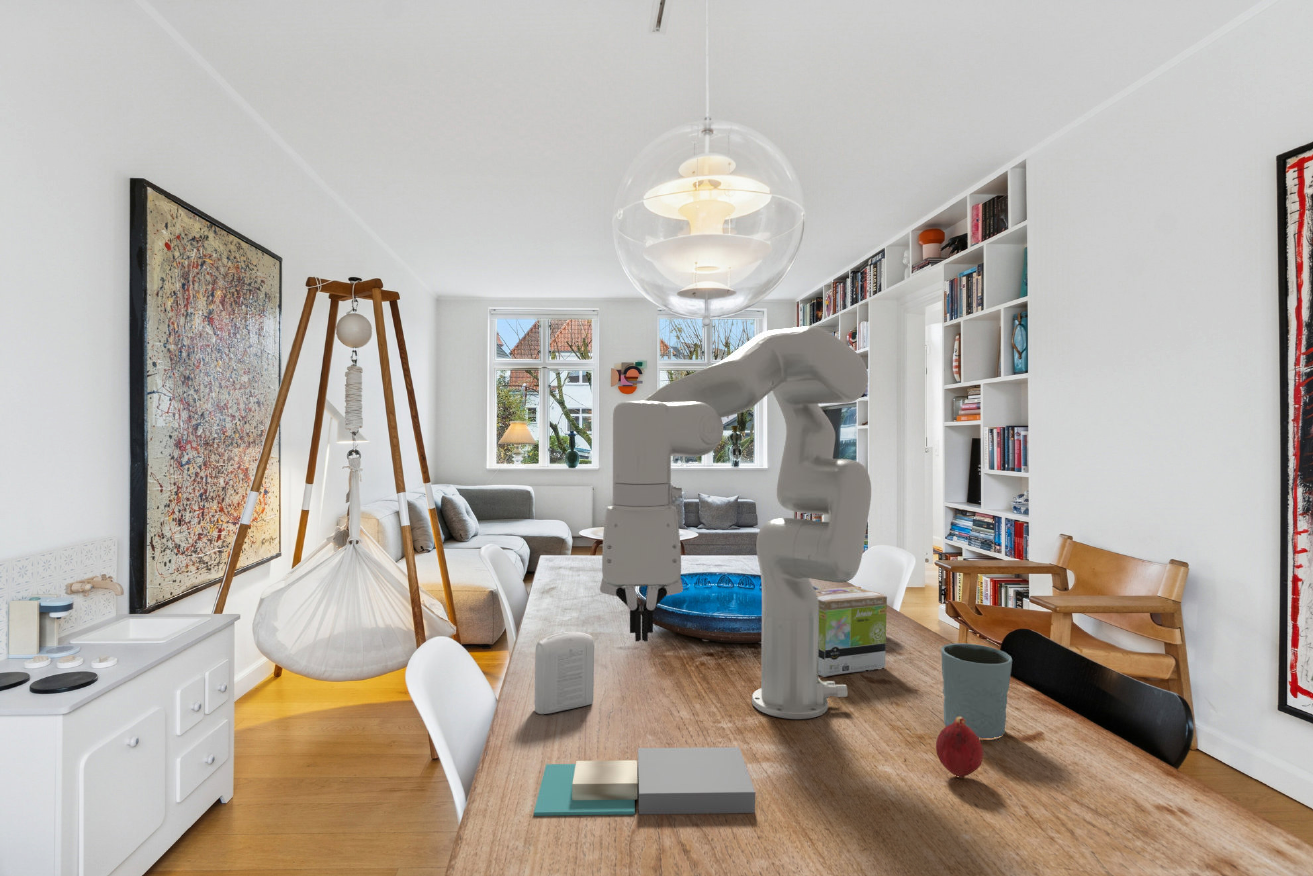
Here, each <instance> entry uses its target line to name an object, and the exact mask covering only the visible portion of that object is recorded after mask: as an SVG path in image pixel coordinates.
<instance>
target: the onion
mask: <svg viewBox="0 0 1313 876" xmlns="http://www.w3.org/2000/svg"><path fill="white" fill-rule="evenodd" d="M935 742H936V743H935V750H936V752H935V753H936V755H937V757H938V760H939V762H940V764H941V765H942V766H943V767H944V768H945V769H946V770H947V771H948V772H949V773H951V774H952V775H953V776H955V775H956V776H959V777H963V778H964V777H966V776H968V775H971V774H973V773H974V772H975V771H977V770H978V769H979V768H980V767H981V765H982V762H983V759H984V747H983V745H982V742H981V740H979V738H978V737H977V735H976V734H975V733H974V731H973V730H972V729H970V728H969V727H968V726H966V725H965V719H963V718H962V717H961V716H960V717H956V720H955V721H954V723H953V724H951V725H948V726H945V727H943V729H942V730H941V731H940V733H939V734H938V736H937V738H936V741H935ZM956 776H955V777H956Z"/></svg>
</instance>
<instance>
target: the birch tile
mask: <svg viewBox="0 0 1313 876" xmlns="http://www.w3.org/2000/svg"><path fill="white" fill-rule="evenodd" d="M575 764H576V766H575V772H574V778H573V784H572V800H633V799H635V800H638V759H637V760H624V759H623V760H576V761H575Z"/></svg>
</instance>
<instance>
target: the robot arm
mask: <svg viewBox="0 0 1313 876" xmlns="http://www.w3.org/2000/svg"><path fill="white" fill-rule="evenodd" d="M868 373H869V372H868V369H867V366H866V364H865V362H864V359H863V358H862V357H861V355H860V354H858V352H857V351H855V350H854V349H853V348H851V347H850V346H849V345H848V344H847V343H845V342H844V341H843V340H841V339H839V338H838V337H837V336H836V335H835V334H832V333H831V332H830V331H827V330H825V329H823V328H821V327H817V326H814V325H806V326H798V327H791V328H790V327H789V328H782V329H781V328H780V329H772V330H767V331H763V332H761V333H758V334H757V335H755V336H754V337H752V338H751V339H750V340H748V341H747V342H745V343H744V344H743V345H742V346H740V347H739V348H738V349H736V350H735V351H733V352H732V353H731V354H729V355H727V356H726V357H725V358H723V359H722V360H720V361H719V362H718V363H715V364H712V365H710V366H706V367H705V368H702V369H699V370H698V371H695V372H693V373H691V374H688V375H686V376H684V377H683V376H682V377H681V378H679V379H675V380H673V381H671V382H669V383H667V384H665V385H664V386H663V385H662V386H661V387H659V388H657V390H655V391H654V392H652V393H651V394H649V395H648V396H646V397H645V398H643V399H642V400H627V401H622V402H619V403H617V404H616V406H615V407H614V409H613V411H612V505H609V506H607V508H606V512H605V516H604V517H605V519H604V523H603V524H604V525H603V537H602V554H601V555H602V557H601V561H602V562H601V571H602V579H601V583H600V587H599V591H600V593H602V594H605V595H609V596H615V597H617V598H618V599H620V601H621V602H622V603H623V604H625V606H627V608H628V610H629V633H630V634H634V635H635V637H634V638H635V639H634V640H635V641H634V642H640V641H643V642H648V641H649V634H654V610H655V608H656V607H657V605H659V603H661V602H662V600H663V599H664V598H665V597H666V596H672V595H675V594H680V593H682V592H683V590H684V587H683V581H682V578H681V577H682V576H681V575H682V554H681V534H680V528H679V517H678V512H677V507H676V506H674V505H671V504H672V501H674V500H676V499H682V497H683V489H682V487H676V486H674V485H672V482H671V481H672V470H671V469H672V457H678V458H679V457H682V458H684V457H686V458H697V457H703V456H707V455H709V454H710V453H712V452H713V451H714V450H715V449H716V448H717V447H718V446H719V444H720V443H721V441H722V440H723V436H724V424H723V419H722V418H726V417H730V416H731V417H732V416H733V415H737V414H741V413H743V412H746V411H749V410H750V409H752V408H754V407H755V406H756V405H757V404H759V402H760V401H762V400H763V399H764V398H765V397H766V396H768V394H769V395H770V393H771V392H772V393H773V396H774V397H775V400H776V402H777V404H778V407H779V408H780V411H781V413H782V416H783V418H784V422H785V427H786V429H785V430H786V433H785V434H786V435H785V441H784V446H783V447H784V448H783V452H782V458H781V463H780V467H779V474H778V478H777V484H776V486H777V487H776V498H777V501H778V503H779V505H780V506H782V508H784V509H786V510H788V511H792V512H796V513H804V514H813V515H823V516H824V515H826V516H829V521H820V520H819V521H818V520H813V519H803V518H792V517H779V518H774V519H771V520H768V521H767V522H765V523H763V525H762V526H761V528H760V529H759V531H758V533H757V536H756V544H755V545H756V557H757V559H758V565H759V572H760V579H761V666H760V667H761V668H760V670H761V672H760V673H761V681H760V682H761V684H760V686H761V687H760V688H758V689H757V690H755V691H754V692H753V693H752V695H751V703H752V705H753V707H755V709H757V710H758V711H759V712H762V713H764V714H765V715H769V716H772V717H775V718H782V719H789V720H808V719H813V718H816V717H820V716H822V715H824V714H825V713H826V712H827V710H828V706H829V705H828V703H829V702H828V699H829V697H835V698H841V697H843V698H844V697H848V686H847V685H846V684H836V682H835V680H827V681H822V680H821V678H820V677H819V674H818V669H819V602H818V597H817V594H816V592H815V590H816V589H815V587H814V586H813V583H812V581H811V580H819V581H823V582H824V581H825V582H829V583H838V584H839V583H847V582H850V581H851V580H852V579H854V577H855V576H857V573H858V571H859V569H860V566H861V564H862V563H861V562H862V559H863V553H864V547H865V540H866V539H865V538H866V532H867V528H868V527H867V526H868V522H869V521H868V520H869V515H870V514H869V513H870V508H871V501H872V500H871V499H872V483H871V477H870V474H869V472H868V470H867V468H866V467H865V466H864V465H863V464H862V463H861V462H859V461H856V460H853V459H847V458H833V457H834V451H835V443H836V431H835V429H834V426H833V424H832V422H831V421H830V419H829V417H828V416H827V415H826V414H825V412H824V411H823V409H822V408H821V407H820V405H821V404H825V405H826V404H845V403H846V404H848V403H852V402H855V401H858V400H859V399H861V397H862V396H863V395H864V394H865V392H866V389H867V387H868V381H869V375H868ZM819 404H820V405H819ZM810 579H811V580H810ZM636 587H647V590H646V596H645V600H643V605H640V601H639V600H638V599H637V592H636ZM823 713H824V714H823Z"/></svg>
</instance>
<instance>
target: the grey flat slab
mask: <svg viewBox="0 0 1313 876" xmlns="http://www.w3.org/2000/svg"><path fill="white" fill-rule="evenodd" d="M637 800H638V815H691V814H692V815H694V814H695V815H696V814H697V815H698V814H753V813H754V814H756V790H755V788H754V785H753V781H752V779H751V776H750V773H749V771H748V768H747V765H746V761H745V758H744V756H743V753H742V751H741V748H740V747H738V746H729V747H728V746H725V747H723V746H721V747H719V746H717V747H715V746H714V747H712V746H711V747H706V746H705V747H703V746H702V747H637Z"/></svg>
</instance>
